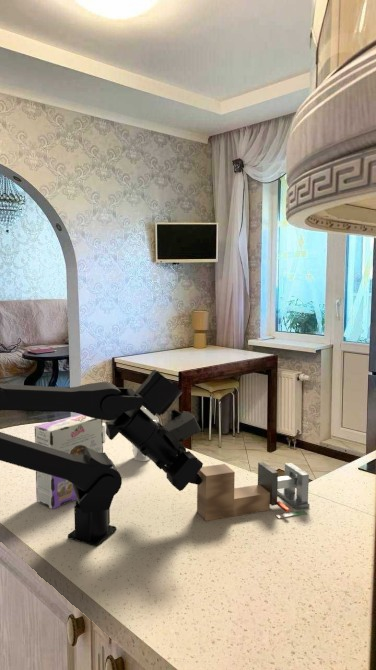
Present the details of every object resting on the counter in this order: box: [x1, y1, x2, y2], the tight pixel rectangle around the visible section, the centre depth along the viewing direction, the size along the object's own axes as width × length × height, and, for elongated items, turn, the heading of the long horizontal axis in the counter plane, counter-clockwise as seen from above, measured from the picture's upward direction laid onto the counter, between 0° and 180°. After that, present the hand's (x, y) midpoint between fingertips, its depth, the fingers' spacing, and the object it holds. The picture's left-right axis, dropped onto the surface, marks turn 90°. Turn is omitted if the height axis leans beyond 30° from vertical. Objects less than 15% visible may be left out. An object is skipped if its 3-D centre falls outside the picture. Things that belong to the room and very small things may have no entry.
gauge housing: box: [275, 462, 310, 520], centre depth 103 cm, size 8×10×7 cm
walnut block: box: [196, 463, 271, 522], centre depth 101 cm, size 14×4×9 cm, turn 111°
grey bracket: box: [257, 461, 297, 513], centre depth 103 cm, size 8×10×7 cm
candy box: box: [34, 414, 104, 510], centre depth 107 cm, size 14×6×16 cm, turn 141°
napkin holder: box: [102, 422, 107, 443], centre depth 143 cm, size 15×11×6 cm
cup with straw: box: [131, 406, 160, 462], centre depth 129 cm, size 8×9×20 cm
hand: (200, 482), depth 98 cm, fingers closed, pressing on walnut block
